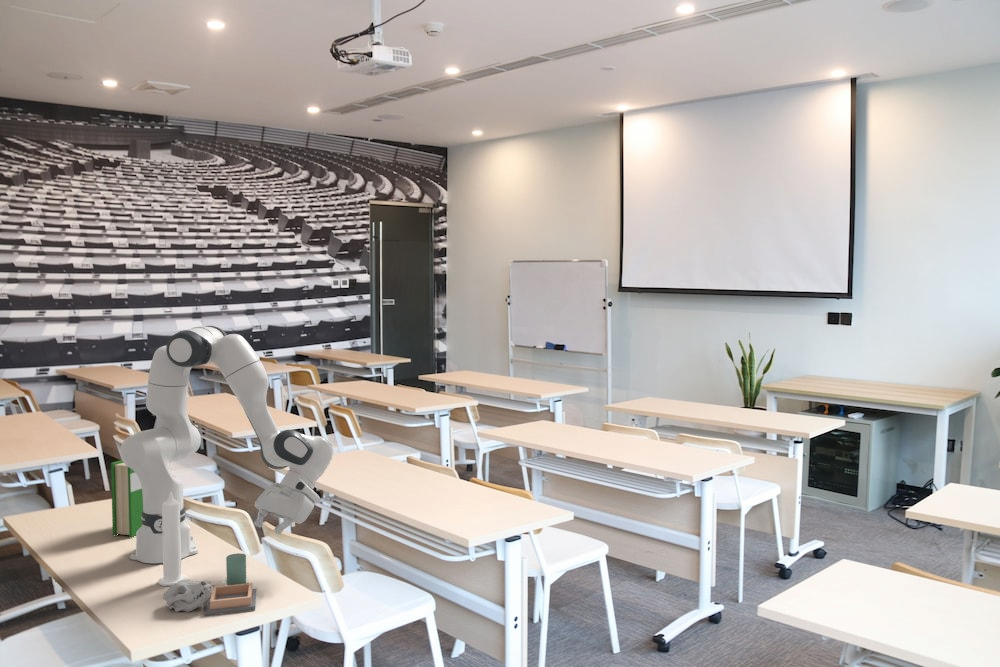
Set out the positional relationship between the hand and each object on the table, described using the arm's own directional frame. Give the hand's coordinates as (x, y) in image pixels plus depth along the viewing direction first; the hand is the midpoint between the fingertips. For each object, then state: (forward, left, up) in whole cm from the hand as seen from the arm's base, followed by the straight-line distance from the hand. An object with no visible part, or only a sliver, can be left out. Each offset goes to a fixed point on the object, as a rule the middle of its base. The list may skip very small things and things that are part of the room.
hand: (266, 529), depth 209 cm
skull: (+18, -19, -13) cm, 29 cm away
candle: (-2, -25, -13) cm, 28 cm away
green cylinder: (+6, -8, -13) cm, 16 cm away
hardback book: (-54, -41, -13) cm, 69 cm away
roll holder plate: (+18, -8, -13) cm, 23 cm away
